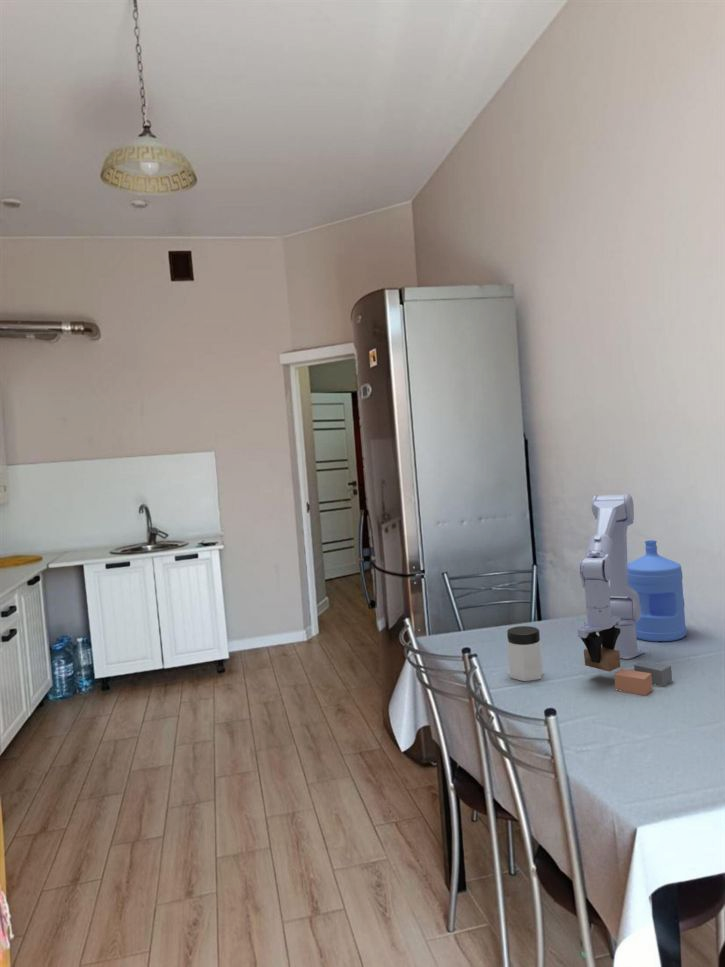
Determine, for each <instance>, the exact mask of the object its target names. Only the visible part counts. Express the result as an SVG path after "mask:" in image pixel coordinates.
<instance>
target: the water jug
mask: <svg viewBox="0 0 725 967" xmlns="http://www.w3.org/2000/svg"><path fill="white" fill-rule="evenodd" d="M644 543H645V548H644V549H645V554H644V555H643V556H640V557H639V558H637V559H634V560H631V562H629V563H628V562H627V565H628V586H629V587H631V588H632V589H633V590H635V591H636V592H637V593H638V594H639V598H640V604H641V618H640V620H639V621H638V622H636V636H637V640H642V641H646V642H647V641H648V642H658V641H663V642H672V641H678V640H680V639H683V638H684V637H685V636H687V626H686V616H685V598H684V587H683V586H684V584H683V571H682V565H681V563H678V562H676V561H674V560H671V559H669V558H667V557H664V556H661V555H660V554H659V553H658V546H657V543H658V542H657V540H653V539H651V540H646V541H645V540H644ZM626 598H629V597H626Z"/></svg>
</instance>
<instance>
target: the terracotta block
mask: <svg viewBox="0 0 725 967" xmlns="http://www.w3.org/2000/svg"><path fill="white" fill-rule="evenodd" d="M613 677H614V678H613V679H614V689H617V690H621V691H620V692H622V691H625V692H624V693H628V692H630V693H629V694H633V693H635V695H640V696H647V695H648V694H650V692H651V691H652V689H653V684H652V675H651V673H645V672H639V671H634V670H632V669H631V670H630V669H625V668H620V669H619V670H618V671H617V672H615V673H614V675H613Z"/></svg>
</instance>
